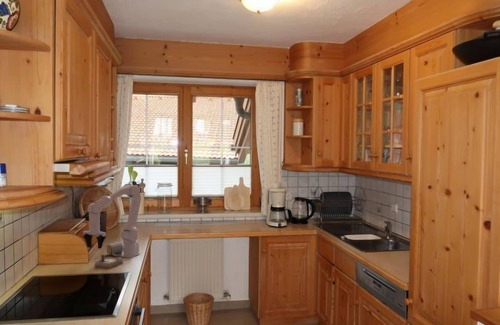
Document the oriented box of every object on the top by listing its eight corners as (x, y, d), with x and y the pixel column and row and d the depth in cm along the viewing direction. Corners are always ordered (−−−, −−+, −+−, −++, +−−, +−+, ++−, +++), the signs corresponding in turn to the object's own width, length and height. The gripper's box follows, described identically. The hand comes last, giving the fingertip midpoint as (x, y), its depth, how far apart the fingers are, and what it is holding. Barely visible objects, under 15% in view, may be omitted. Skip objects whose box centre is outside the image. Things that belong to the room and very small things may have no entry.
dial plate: (106, 261, 222) (106, 256, 222) (122, 263, 218) (122, 258, 218) (94, 266, 212) (94, 261, 212) (110, 268, 209) (110, 263, 209)
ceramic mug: (105, 254, 237) (105, 242, 237) (118, 252, 243) (118, 240, 243) (113, 258, 230) (113, 245, 229) (125, 255, 235) (126, 243, 235)
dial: (112, 259, 221) (112, 251, 221) (118, 262, 215) (118, 254, 215) (99, 262, 216) (98, 253, 216) (103, 265, 210) (103, 256, 210)
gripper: (79, 224, 215) (79, 248, 216) (99, 226, 211) (99, 250, 211) (88, 222, 222) (88, 245, 222) (108, 224, 217) (108, 247, 218)
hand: (94, 247), depth 217 cm, fingers open, 7 cm apart
